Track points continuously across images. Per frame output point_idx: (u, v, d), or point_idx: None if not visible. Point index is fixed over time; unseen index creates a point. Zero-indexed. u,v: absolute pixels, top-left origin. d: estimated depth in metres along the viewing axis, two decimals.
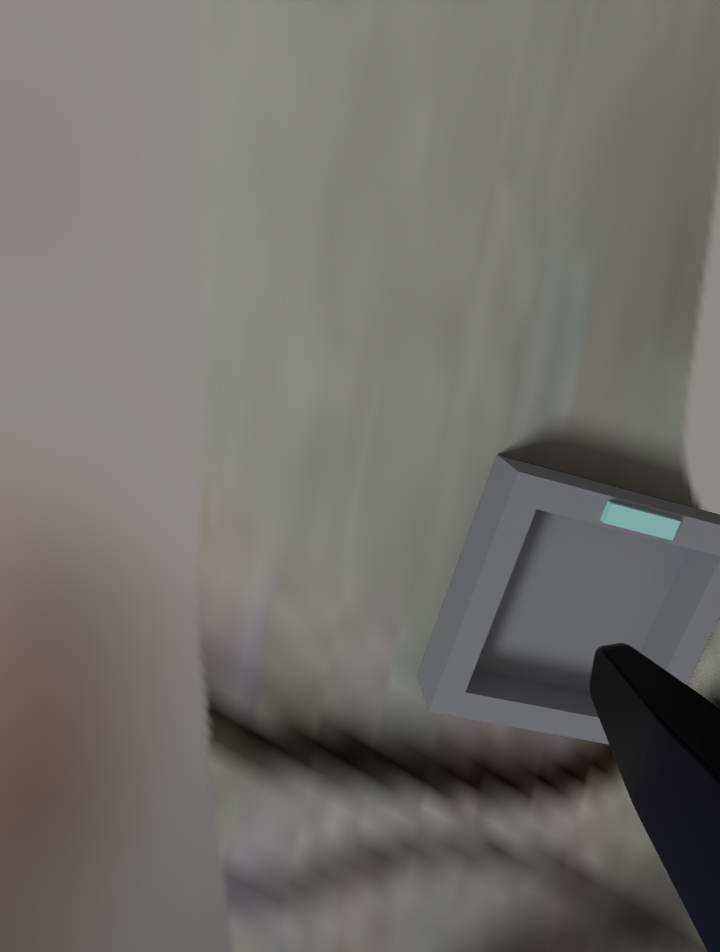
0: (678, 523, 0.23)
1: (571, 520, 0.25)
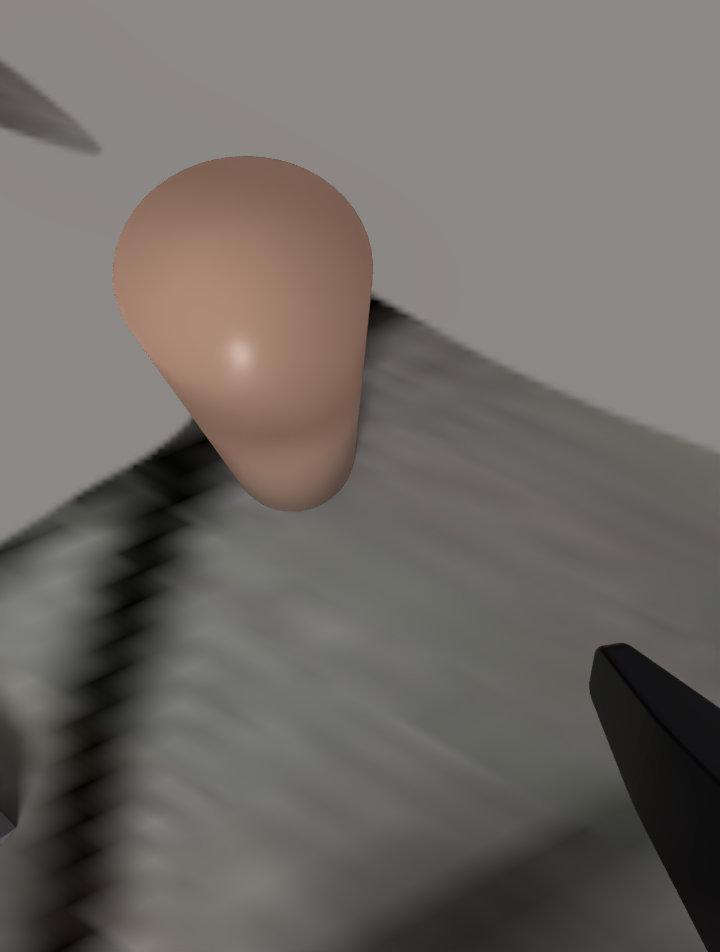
0: None
1: None
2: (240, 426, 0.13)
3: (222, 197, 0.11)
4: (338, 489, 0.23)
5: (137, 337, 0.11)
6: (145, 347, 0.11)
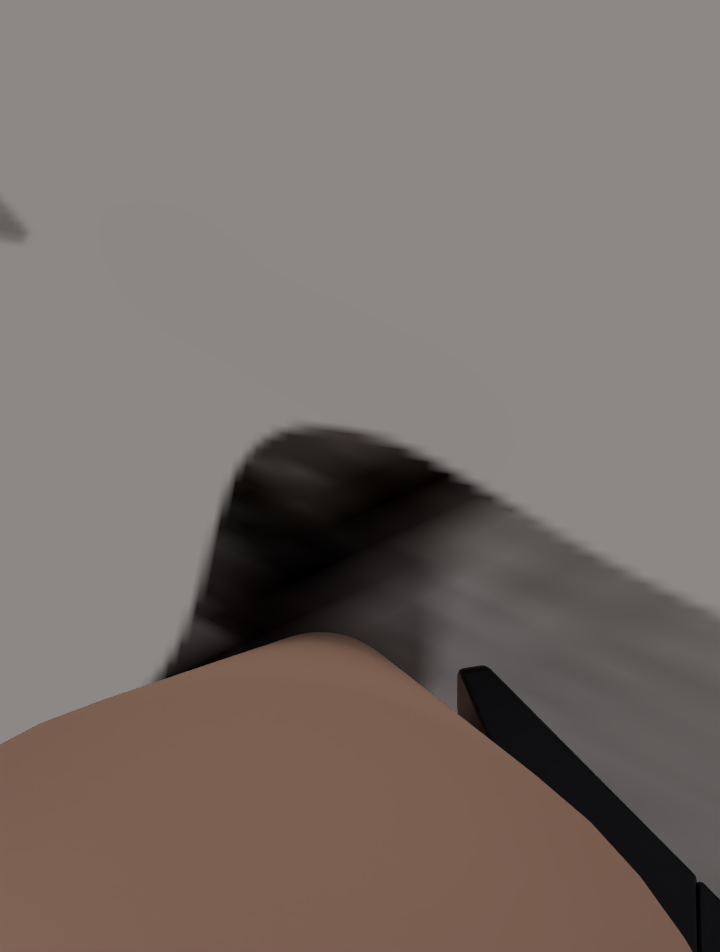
0: None
1: None
2: None
3: (134, 898, 0.03)
4: None
5: None
6: None
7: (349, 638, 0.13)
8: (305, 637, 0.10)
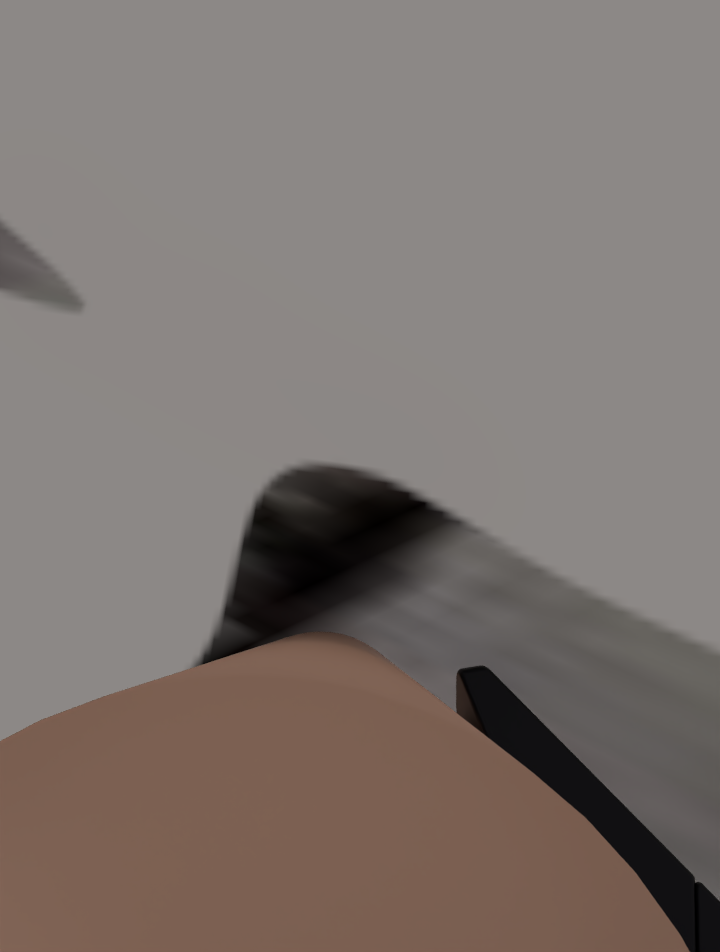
0: None
1: None
2: None
3: (131, 895, 0.03)
4: None
5: None
6: None
7: (349, 638, 0.13)
8: None
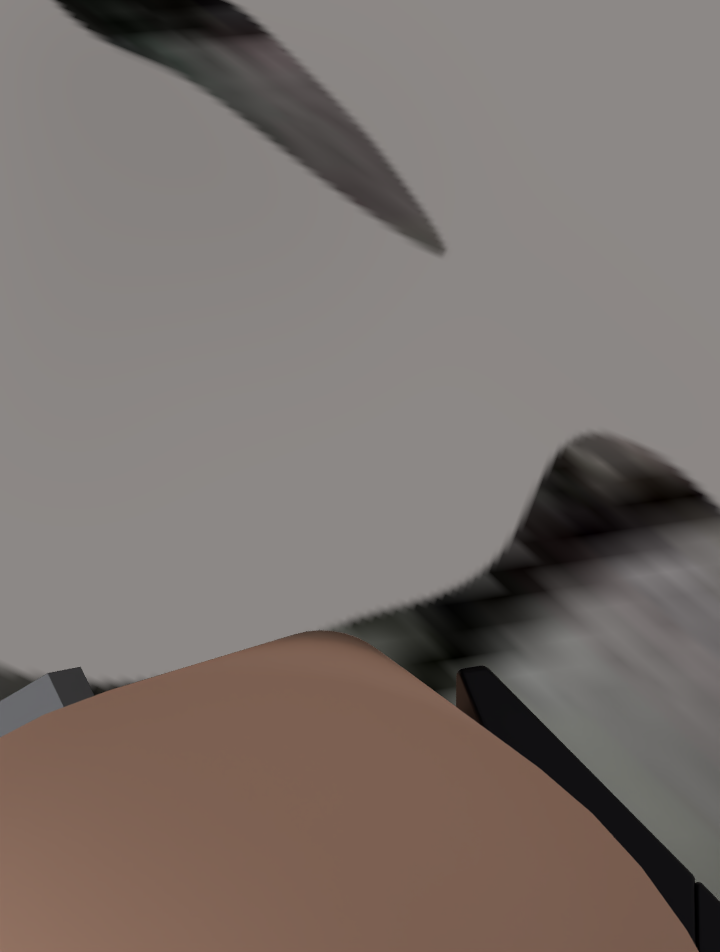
0: None
1: None
2: None
3: (135, 888, 0.03)
4: None
5: None
6: None
7: (350, 636, 0.13)
8: (306, 635, 0.10)
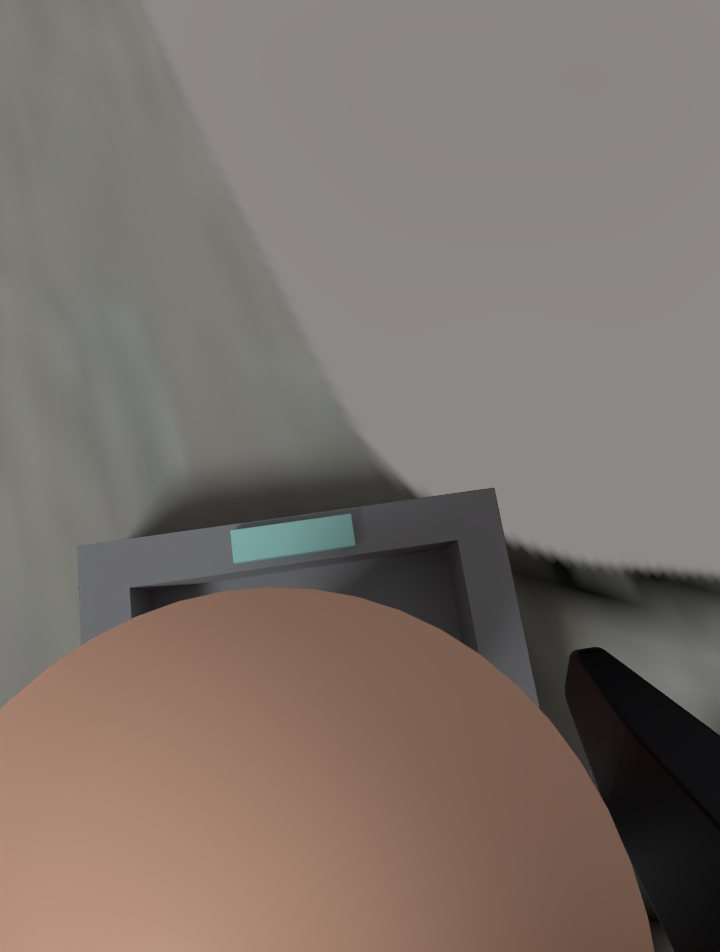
0: (351, 519, 0.15)
1: None
2: None
3: (201, 733, 0.04)
4: None
5: None
6: None
7: None
8: None
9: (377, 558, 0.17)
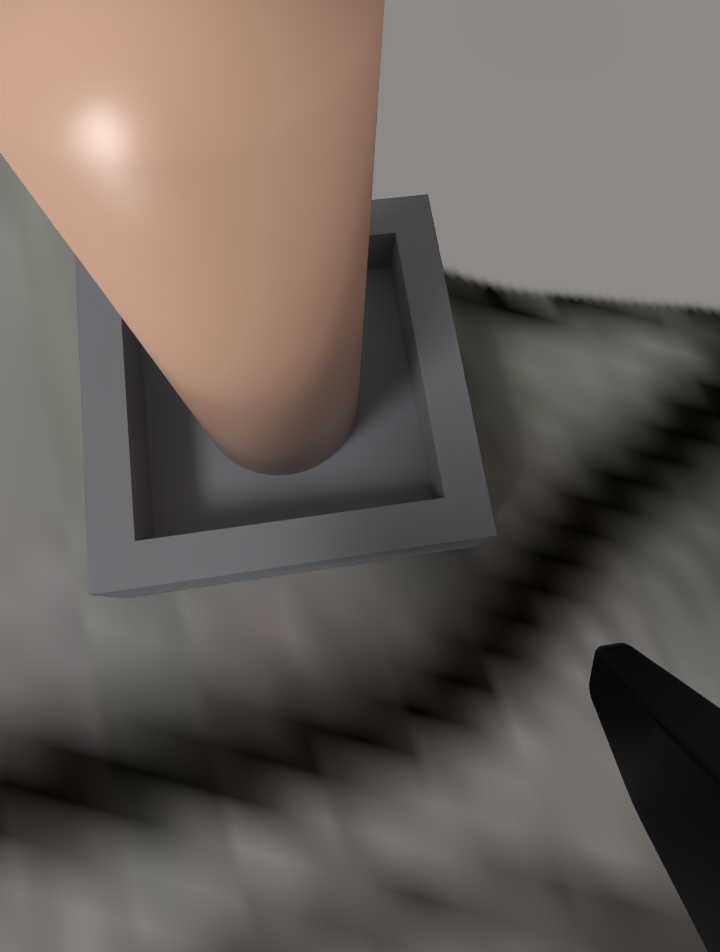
0: None
1: None
2: (171, 294, 0.08)
3: None
4: (337, 447, 0.18)
5: None
6: None
7: None
8: None
9: None
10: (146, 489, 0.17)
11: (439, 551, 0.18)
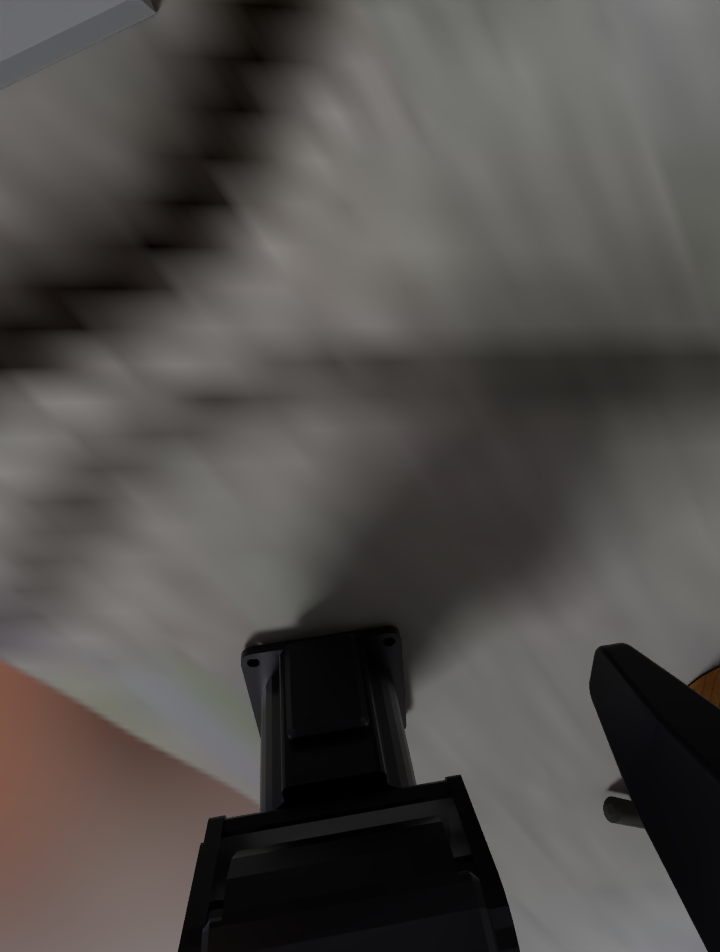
0: None
1: None
2: None
3: None
4: None
5: None
6: None
7: None
8: None
9: None
10: None
11: (109, 35, 0.14)
